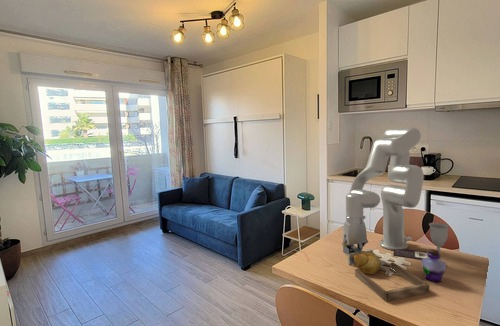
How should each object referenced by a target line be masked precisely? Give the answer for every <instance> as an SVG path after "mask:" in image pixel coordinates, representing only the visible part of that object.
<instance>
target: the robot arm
mask: <svg viewBox="0 0 500 326" xmlns="http://www.w3.org/2000/svg"><path fill="white" fill-rule="evenodd" d="M421 136H422V135H421V132H420V130H419V129H418V128H415V127H395V128H394V127H393V128H388V129H386V130H385V131H384V133H383V138H378V139H375V140H374V142H373V143H372V146H371V149H370V153H369V156H368V160H367V163H366V166H365V168H364V169H363V170H362V171H360V172H359V173H358V174H357V175H356V177H355V178H354V179H353V181H352V184H351V187H350V189H349V193H346V195H345V216H346V217H345V218H346V219H345V220H346V221H344V223H343V228H342V243H341V245H342V247H343V246H344V247H347V248H348V249H349V253H354V251H353V245H356V247H358V248H359V249H360V250H362V251H363V248H364V247H365V245H367V244H368V243H369V240H368V237H367V227H366V224H365V219H366V215H364V210H365V209H372V208H376V207H377V206H379V204H380V202H382V215H383V216H382V218H383V219H382V220H383V221H382V228H383V229H382V235H383V237H382V238H383V239H381V240H380V241H379V245H380V246H381V247H382V248H384V249H386V250H390V251H394V250H404V249H409V248H408V244H407V242H411V241H413V238H412V237H411V236H407V237H406V236H405V209H404V208H409V209H414V208H416V207H417V206H418V205H419V202H420V200H421V195H422V189H423V185H424V184H423V183H424V179H425V175H424V170H423V169H422V167H420V166H418V165H415V164H410V159H411V152H410V150H412V149H413V148H415V147H416V145H418V144H419V142H420V140H421ZM388 162H389V164H388ZM387 166H388V172H387V179H388V180H389V181H391V182H393V183H396V184H404V185H405V186H403V185H402V186H401V185H396V184H387V185H384V186H383V187H382V188H381V190H380V195H379V194H378V193H377V192H374V191H370V190H366V189H364V186H365V184H367V182H368V181H370V180H372V179H374V178H376V177H379V176H382V175H383V174H385V172H386V169H387ZM403 207H404V208H403ZM346 243H347V244H348V245H347V244H346Z"/></svg>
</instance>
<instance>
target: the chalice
mask: <svg viewBox="0 0 500 326" xmlns="http://www.w3.org/2000/svg"><path fill="white" fill-rule="evenodd" d="M428 225H429V236H430V239H431V241H432V243H433V245H435V246H436V250H438V251H439V253H440V252H441V249H440V248H441V247H443V246H444V245H445V244H446V242H447V240H448V236H449V235H448V234H449V232H448V231H449V228H450V225H448V224H447V223H441V222H430V223H428ZM440 254H441V253H440ZM439 260H441V261H443V260H442V259H441V257H440V258H439Z"/></svg>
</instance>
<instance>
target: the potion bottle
mask: <svg viewBox="0 0 500 326" xmlns="http://www.w3.org/2000/svg"><path fill="white" fill-rule="evenodd" d="M426 252H427V256H428V257H429V258H423V259H421V260H420V261H421V265H422V271H423V273H424V275H425V276H424V279H425V280H427V281H429V282H431V283H435V284H438V283H442V279H443V276H444V274H445V272H446V269H447V263H446V262H445V261H443V260H442V259H441V253H439V251H438V250H437V249H434V248H430V249H429V248H428V251H426ZM439 258H440V260H439ZM441 260H442V261H441Z"/></svg>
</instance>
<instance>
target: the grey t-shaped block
mask: <svg viewBox="0 0 500 326" xmlns="http://www.w3.org/2000/svg"><path fill="white" fill-rule="evenodd" d="M346 244H347V243H346ZM347 245H348V244H347ZM353 251H354V253H349V249H348V248H347V247H344V246H343V245H342V252H343V253H344V254H346V255H347V256H348V257H347V261H348V262H347V263H348V265H349V266H351V265H356V263H355V261H354V256H355V255H356V254H361V253H363V252H373V253H374V250H373V249H368V250H363V249H362V250H360V249H359V248H358V247H357V245H356V244H354V245H353Z"/></svg>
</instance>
